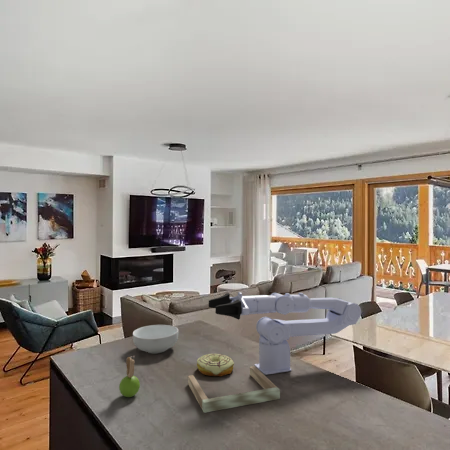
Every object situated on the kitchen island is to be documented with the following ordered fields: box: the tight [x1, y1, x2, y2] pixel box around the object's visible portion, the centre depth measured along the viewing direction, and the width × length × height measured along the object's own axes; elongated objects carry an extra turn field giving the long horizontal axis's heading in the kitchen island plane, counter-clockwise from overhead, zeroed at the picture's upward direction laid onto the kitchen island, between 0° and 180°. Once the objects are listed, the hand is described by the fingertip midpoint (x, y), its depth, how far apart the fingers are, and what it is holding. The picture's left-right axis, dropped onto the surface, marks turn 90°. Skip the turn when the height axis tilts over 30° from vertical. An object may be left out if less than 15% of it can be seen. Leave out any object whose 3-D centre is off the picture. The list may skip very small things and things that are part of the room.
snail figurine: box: [118, 355, 141, 398], centre depth 97 cm, size 5×6×12 cm
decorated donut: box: [196, 353, 235, 377], centre depth 114 cm, size 11×12×4 cm
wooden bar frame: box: [187, 365, 281, 413], centre depth 100 cm, size 21×16×2 cm
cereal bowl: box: [132, 324, 179, 354], centre depth 133 cm, size 17×17×7 cm
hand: (212, 306), depth 109 cm, fingers open, 7 cm apart
